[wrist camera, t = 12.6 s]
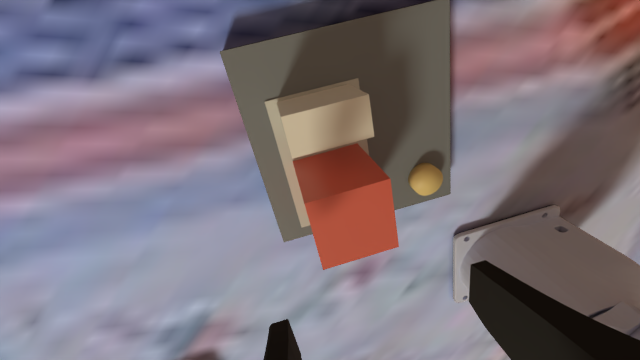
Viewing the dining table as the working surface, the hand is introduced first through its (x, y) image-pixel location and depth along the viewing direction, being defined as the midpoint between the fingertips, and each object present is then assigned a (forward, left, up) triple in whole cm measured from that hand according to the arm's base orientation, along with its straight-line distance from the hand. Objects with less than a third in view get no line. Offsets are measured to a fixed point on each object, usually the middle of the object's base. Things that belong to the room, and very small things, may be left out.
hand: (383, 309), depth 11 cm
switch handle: (0, -6, -9) cm, 10 cm away
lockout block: (0, -1, -9) cm, 9 cm away
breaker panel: (-2, -4, -10) cm, 11 cm away
